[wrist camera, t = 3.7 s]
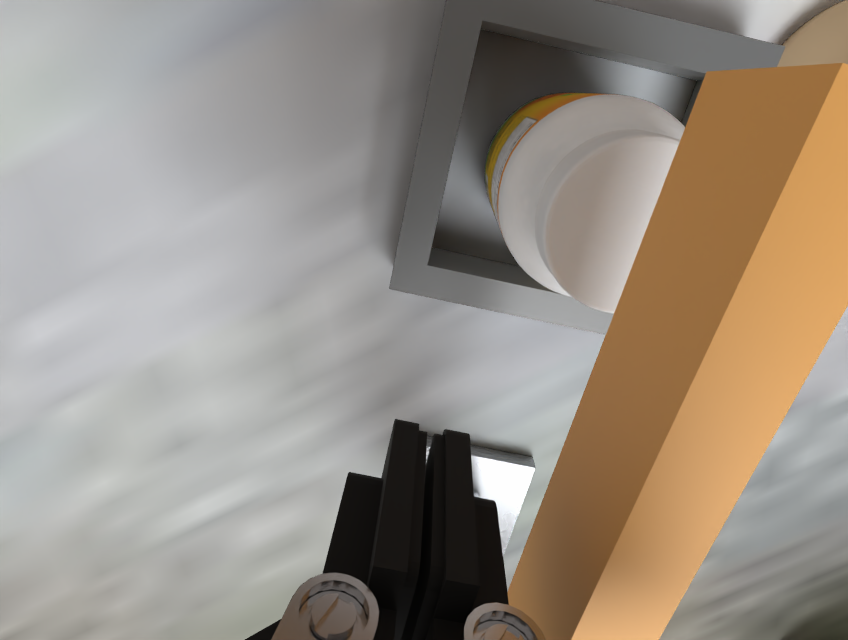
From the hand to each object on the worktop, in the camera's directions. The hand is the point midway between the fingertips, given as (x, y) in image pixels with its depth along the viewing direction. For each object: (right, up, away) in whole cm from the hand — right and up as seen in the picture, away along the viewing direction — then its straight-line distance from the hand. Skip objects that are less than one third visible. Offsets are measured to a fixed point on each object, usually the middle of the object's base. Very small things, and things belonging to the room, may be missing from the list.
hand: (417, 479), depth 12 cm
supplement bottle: (+5, +9, +9) cm, 14 cm away
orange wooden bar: (+3, -2, +1) cm, 4 cm away
